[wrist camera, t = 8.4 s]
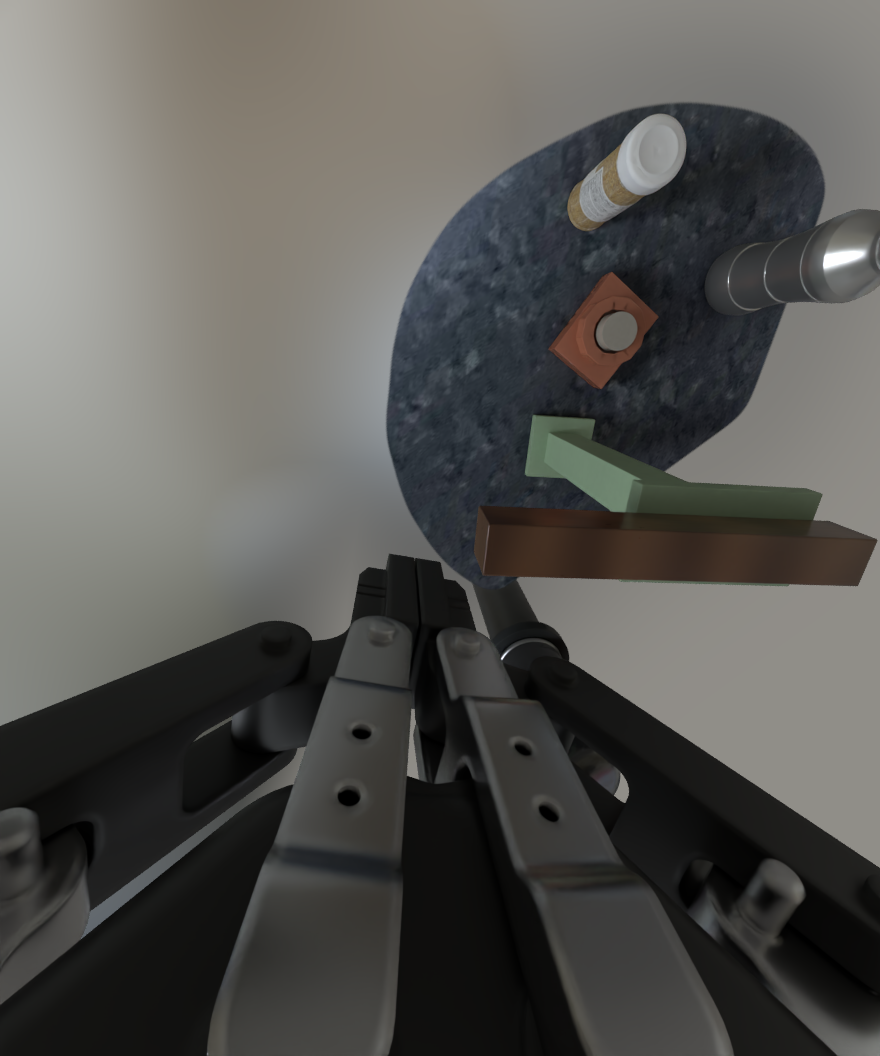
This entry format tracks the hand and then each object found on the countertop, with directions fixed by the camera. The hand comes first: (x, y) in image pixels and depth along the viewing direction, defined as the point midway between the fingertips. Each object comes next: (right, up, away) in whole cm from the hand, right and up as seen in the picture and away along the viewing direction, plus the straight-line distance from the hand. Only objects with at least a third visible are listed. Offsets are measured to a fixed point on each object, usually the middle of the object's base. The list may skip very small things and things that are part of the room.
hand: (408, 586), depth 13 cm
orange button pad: (+18, +23, +37) cm, 47 cm away
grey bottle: (+32, +28, +37) cm, 56 cm away
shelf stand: (+15, +11, +41) cm, 45 cm away
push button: (+19, +22, +34) cm, 44 cm away
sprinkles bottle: (+16, +34, +33) cm, 50 cm away
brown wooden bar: (+13, +1, +13) cm, 19 cm away
